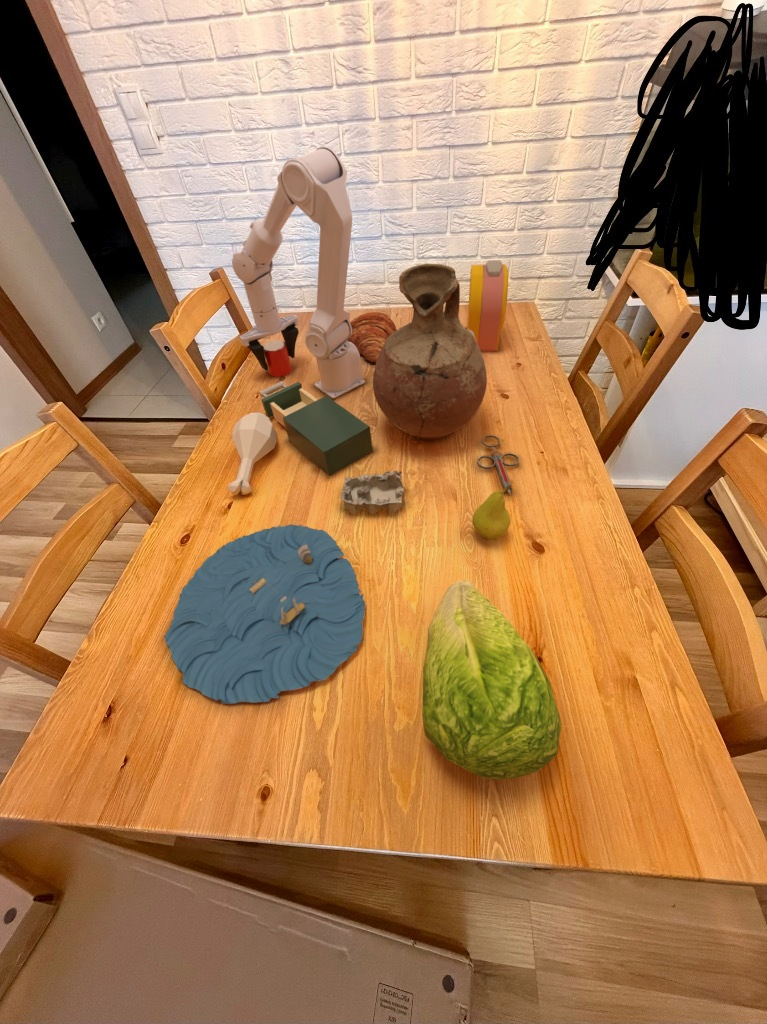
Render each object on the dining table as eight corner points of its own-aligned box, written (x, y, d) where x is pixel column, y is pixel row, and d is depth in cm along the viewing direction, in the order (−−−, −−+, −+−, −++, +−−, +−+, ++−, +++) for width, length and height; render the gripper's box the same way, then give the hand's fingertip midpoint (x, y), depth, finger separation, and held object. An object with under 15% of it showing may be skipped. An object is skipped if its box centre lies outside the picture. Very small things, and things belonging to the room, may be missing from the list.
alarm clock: (500, 354, 112) (510, 275, 98) (466, 354, 113) (471, 276, 100) (498, 325, 122) (507, 250, 108) (467, 325, 123) (471, 251, 109)
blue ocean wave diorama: (296, 758, 56) (285, 748, 52) (131, 650, 67) (111, 634, 63) (407, 571, 71) (406, 552, 67) (258, 508, 82) (249, 489, 78)
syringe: (489, 507, 79) (490, 500, 78) (469, 441, 91) (469, 434, 90) (534, 502, 79) (536, 496, 78) (507, 437, 91) (509, 430, 90)
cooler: (289, 441, 95) (282, 417, 91) (330, 419, 99) (326, 395, 95) (329, 476, 87) (324, 452, 83) (372, 451, 91) (369, 426, 87)
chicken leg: (215, 500, 86) (215, 476, 79) (237, 426, 95) (239, 400, 88) (260, 509, 88) (264, 487, 81) (277, 436, 97) (282, 411, 90)
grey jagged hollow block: (405, 486, 84) (404, 469, 81) (401, 517, 79) (401, 500, 76) (347, 484, 85) (345, 468, 82) (341, 514, 80) (337, 498, 77)
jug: (360, 446, 92) (339, 294, 70) (398, 388, 105) (391, 244, 83) (466, 469, 86) (479, 309, 64) (493, 404, 99) (511, 252, 77)
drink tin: (284, 362, 117) (278, 337, 112) (296, 370, 114) (290, 345, 109) (265, 370, 115) (258, 345, 110) (276, 379, 112) (269, 354, 107)
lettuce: (521, 603, 67) (511, 538, 59) (578, 786, 49) (576, 729, 40) (422, 622, 70) (398, 562, 61) (440, 803, 51) (410, 753, 43)
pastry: (416, 341, 119) (416, 310, 113) (377, 367, 112) (374, 336, 106) (369, 324, 128) (366, 295, 122) (329, 348, 120) (324, 318, 114)
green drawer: (255, 407, 103) (250, 390, 100) (291, 389, 107) (287, 373, 103) (299, 444, 93) (294, 427, 90) (336, 424, 97) (333, 406, 93)
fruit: (467, 523, 77) (472, 470, 68) (502, 519, 77) (511, 465, 68) (475, 550, 73) (481, 498, 64) (511, 545, 73) (523, 493, 64)
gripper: (282, 291, 108) (294, 345, 118) (226, 312, 102) (244, 367, 112) (298, 300, 104) (309, 355, 114) (241, 322, 98) (258, 378, 108)
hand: (278, 362), depth 113 cm, fingers open, 7 cm apart
